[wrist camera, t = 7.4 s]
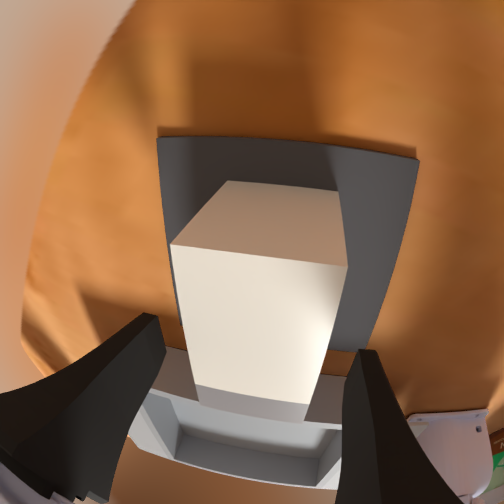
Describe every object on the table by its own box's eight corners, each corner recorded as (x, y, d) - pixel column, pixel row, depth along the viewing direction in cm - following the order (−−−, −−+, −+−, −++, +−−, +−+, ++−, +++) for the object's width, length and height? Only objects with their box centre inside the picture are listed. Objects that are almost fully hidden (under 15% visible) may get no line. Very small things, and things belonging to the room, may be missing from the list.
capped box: (338, 191, 13) (348, 266, 8) (312, 336, 17) (302, 424, 12) (227, 180, 14) (169, 244, 9) (231, 324, 18) (200, 405, 13)
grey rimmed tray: (422, 380, 18) (428, 425, 15) (356, 460, 28) (354, 489, 24) (104, 328, 23) (80, 361, 19) (150, 423, 32) (139, 448, 28)
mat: (417, 158, 11) (419, 161, 11) (363, 348, 18) (363, 352, 17) (160, 136, 13) (156, 138, 13) (182, 321, 20) (180, 325, 19)
